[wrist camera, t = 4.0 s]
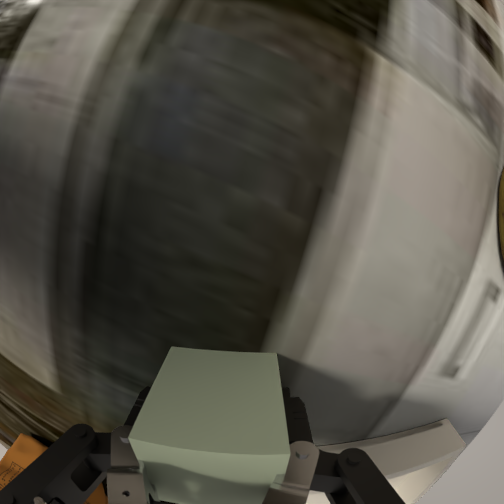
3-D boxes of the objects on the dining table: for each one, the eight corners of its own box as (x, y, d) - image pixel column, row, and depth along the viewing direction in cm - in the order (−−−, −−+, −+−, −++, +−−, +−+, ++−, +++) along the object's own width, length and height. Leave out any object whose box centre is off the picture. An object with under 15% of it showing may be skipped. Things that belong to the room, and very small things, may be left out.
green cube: (171, 346, 12) (128, 437, 6) (276, 353, 12) (290, 454, 6) (180, 416, 13) (157, 499, 7) (268, 422, 13) (273, 510, 8)
